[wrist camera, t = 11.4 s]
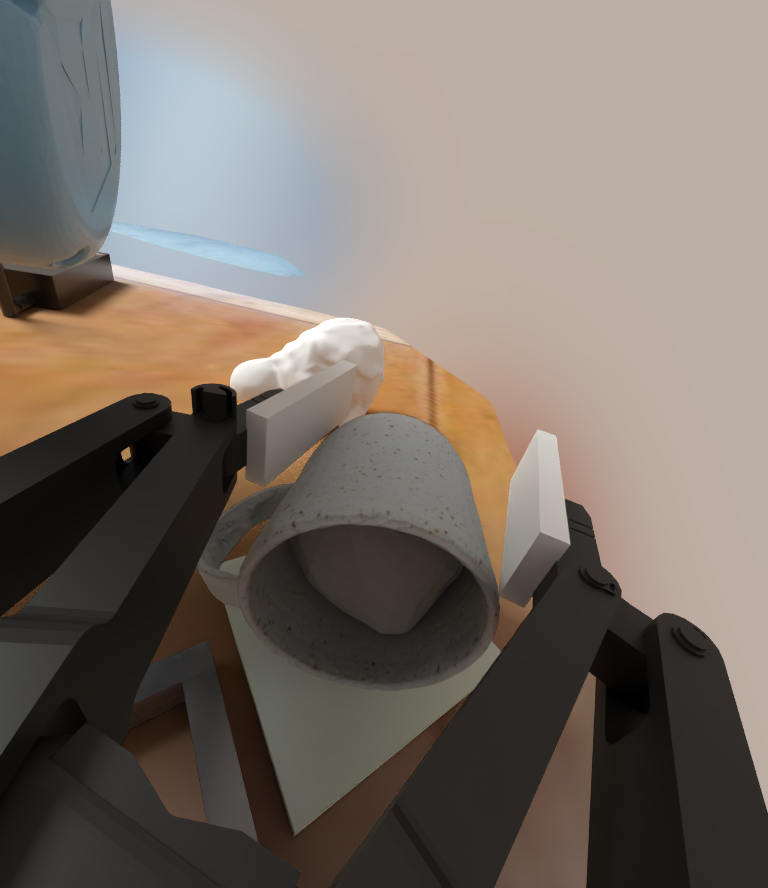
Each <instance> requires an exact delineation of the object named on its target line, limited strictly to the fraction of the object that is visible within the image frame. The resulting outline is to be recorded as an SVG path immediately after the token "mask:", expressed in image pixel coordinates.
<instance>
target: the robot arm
mask: <svg viewBox="0 0 768 888" xmlns="http://www.w3.org/2000/svg"><path fill="white" fill-rule="evenodd" d="M120 154H121V111H120V88H119V73H118V62H117V50H116V41H115V32H114V25H113V16H112V8H111V1H110V0H0V263H7V264H16V265H24V266H33V267H41V268H50V269H61V268H70V267H75V266H78V265H80V264H83V263H85V262H86V261H88V260H89V259H91V258H92V257H93V256H94V255H95V254H96V253H97V252H98V251H99V250H100V248H101V247H102V245H103V244H104V242H105V240H106V238H107V236H108V233H109V230H110V228H111V224H112V220H113V216H114V212H115V207H116V201H117V194H118V185H119V174H120V156H121V155H120ZM357 367H358V365H357V364H354V363H351V362H348V361H346V360H342V361H340V362H338V363H336V364H334V365H332V366H330V367H328V368H326V369H324V370H322V371H320V372H318V373H316V374H315V375H313V376H311V377H309V378H307V379H305V380H303V381H301V382H299V383H297V384H295V385H293V386H291V387H289V388H288V389H286V390H283V389H281V388H279V389H273V390H268V391H266V392H264V393H261V394H259V396H255V397H253V398H251V400H250V399H249V400H247V401H245V402H243V403H241V404H239V405H237V393H236V391H235V390H234V389H233V388H231V387H229V386H225V385H222V384H202V385H198V386H195V387H194V388H192V389H191V396H192V408H193V413H192V414H191V415H189V414H183V413H178V412H173V411H172V407H171V401H170V400H169V399H168V398H167V397H165V396H162V395H158V394H154V393H149V394H148V393H142V394H137V395H133V396H130V397H127V398H125V399H123V400H120V401H118V402H116V403H114V404H112V405H110V406H108V407H105V408H103V409H101V410H99V411H97V412H95V413H93V414H91V415H88V416H86V417H84V418H82V419H80V420H78V421H76V422H74V423H71V424H69V425H67V426H65V427H63V428H61V429H59V430H57V431H54V432H52V433H50V434H48V435H46V436H44V437H42V438H39V439H37V440H35V441H33V442H31V443H29V444H27V445H25V446H22V447H20V448H18V449H16V450H14V451H12V452H10V453H8V454H5V455H3V456H1V457H0V616H2V615H3V614H4V613H5V612H6V611H8V610H9V609H10V608H11V607H13V606H14V605H15V604H16V603H17V602H19V601H20V600H21V599H22V598H24V597H25V596H26V595H27V594H28V593H30V592H31V591H32V590H33V589H35V588H36V587H37V586H38V585H39V584H41V583H42V582H43V581H44V580H46V579H47V578H48V577H49V576H51V575H52V574H53V573H54V572H55V573H54V574H53V575H52V576H51V577H50V578H49V580H48V581H47V582H46V583H45V584H44V585H43V587H42V588H41V589H40V590H39V591H38V592H37V593H36V595H35V596H34V597H33V598H32V599H31V600H30V602H29V603H28V604H27V605H26V606H25V607H24V608H23V609H22V610H21V611H20V612H19V613H17V614H15V615H13V616H11V617H2V618H0V888H297V887H296V883H297V881H298V878H299V875H300V873H301V872H299V871H298V870H297V869H295V868H294V867H292V866H291V865H289V864H288V863H287V862H285V861H284V860H282V859H281V858H280V857H278V856H277V855H275V854H274V853H272V852H271V851H270V850H268V849H267V848H265V847H264V846H262V845H261V844H260V843H258V842H257V841H255V840H254V839H253V838H251V837H250V836H248V835H247V834H245V833H244V832H243V831H239V830H235V829H230V828H225V827H221V826H216V825H212V824H207V823H202V822H198V821H193V820H189V819H184V818H179V817H176V816H173V815H171V814H170V813H169V812H168V811H167V810H166V808H165V807H164V805H163V803H162V802H161V800H160V798H159V797H158V795H157V793H156V792H155V790H154V788H153V787H152V785H151V783H150V782H149V780H148V778H147V777H146V775H145V773H144V772H143V770H142V768H141V767H140V765H139V763H138V762H137V760H136V758H135V757H134V755H133V754H132V753H130V752H129V751H127V750H126V749H124V748H123V747H122V744H123V741H124V739H125V736H126V734H127V731H128V728H129V725H130V721H131V717H132V712H133V706H134V701H135V697H136V694H137V691H138V689H139V687H140V684H141V682H142V680H143V678H144V676H145V674H146V672H147V670H148V667H149V665H150V663H151V661H152V659H153V657H154V655H155V653H156V651H157V648H158V646H159V644H160V642H161V640H162V638H163V636H164V634H165V632H166V630H167V627H168V625H169V623H170V621H171V619H172V617H173V615H174V613H175V611H176V608H177V606H178V604H179V602H180V600H181V598H182V596H183V594H184V592H185V589H186V587H187V585H188V583H189V581H190V579H191V577H192V575H193V573H194V570H195V568H196V566H197V564H198V562H199V560H200V558H201V556H202V554H203V551H204V549H205V547H206V545H207V543H208V541H209V539H210V537H211V535H212V533H213V530H214V528H215V526H216V524H217V522H218V520H219V518H220V516H221V514H222V511H223V509H224V507H225V505H226V503H227V501H228V499H229V497H230V495H231V492H232V490H233V488H234V486H235V484H236V482H237V471H239V470H240V469H241V468H243V467H244V466H246V478H245V479H247V480H249V481H251V482H253V483H256V484H258V485H260V486H262V487H265V486H266V485H267V484H269V483H270V482H271V481H272V480H273V479H274V478H276V477H277V476H278V475H279V474H280V473H282V472H283V471H284V470H285V469H286V468H288V467H289V466H290V465H291V464H292V463H293V462H295V461H296V460H297V459H298V458H299V457H301V456H302V455H303V454H304V453H305V452H307V451H308V450H309V449H310V448H311V447H313V446H314V445H315V444H316V443H317V442H318V441H320V440H321V439H322V438H323V437H324V436H326V435H327V434H328V433H329V432H330V431H332V430H333V429H334V428H335V427H336V426H338V425H339V424H340V423H341V422H342V421H343V420H345V419H346V418H347V417H348V415H349V409H350V404H351V399H352V393H353V388H354V383H355V377H356V372H357ZM127 447H129V448H130V453H131V457H130V458H128V459H127V460H124V461H123V459H122V455H121V452H122V451H123V450H124V449H126V448H127ZM592 529H593V526H592V522H591V517H590V516H589V514H588V513H587V512H586V510H585V509H584V507H583V506H582V505H580V504H577V503H574V502H572V501H569V500H567V499H564V492H563V484H562V477H561V469H560V462H559V454H558V446H557V439H556V436H555V435H552V434H549V433H547V432H544V431H541V430H537V431H536V433H535V435H534V437H533V439H532V441H531V443H530V445H529V446H528V448H527V450H526V452H525V454H524V456H523V458H522V460H521V462H520V463H519V465H518V467H517V469H516V471H515V473H514V475H513V477H512V479H511V481H510V490H509V500H508V510H507V519H506V529H505V539H504V549H503V558H502V568H501V578H500V587H499V596H500V597H502V598H504V599H506V600H508V601H511V602H513V603H515V604H517V605H519V606H521V607H525V606H526V604H527V603H528V602H529V600H530V599H531V597H532V596H533V609H532V610H531V612H530V613H529V614H528V616H527V617H526V618H525V619H524V621H523V622H522V623H521V625H520V626H519V627H518V629H517V630H516V631H515V633H514V635H513V636H512V637H511V639H510V640H509V642H508V643H507V644H506V646H505V647H504V648H503V650H502V651H501V653H500V654H499V655H498V657H497V658H496V659H495V661H494V662H493V664H492V665H491V666H490V668H489V669H488V670H487V672H486V673H485V675H484V676H483V677H482V679H481V680H480V681H479V683H478V684H477V686H476V687H475V688H474V690H473V691H472V692H471V694H470V695H469V697H468V698H467V699H466V701H465V702H464V703H463V705H462V706H461V708H460V709H459V710H458V712H457V713H456V714H455V716H454V717H453V719H452V720H451V721H450V723H449V724H448V725H447V727H446V728H445V730H444V731H443V732H442V734H441V735H440V736H439V738H438V739H437V741H436V742H435V743H434V745H433V746H432V747H431V749H430V750H429V752H428V753H427V754H426V756H425V757H424V758H423V760H422V761H421V763H420V764H419V765H418V767H417V768H416V769H415V771H414V772H413V774H412V775H411V776H410V778H409V779H408V780H407V782H406V783H405V785H404V786H403V787H402V789H401V790H400V791H399V793H398V794H397V796H396V797H395V798H394V800H393V801H392V802H391V804H390V805H389V807H388V808H387V809H386V811H385V812H384V813H383V815H382V816H381V818H380V819H379V820H378V822H377V823H376V824H375V826H374V827H373V829H372V830H371V831H370V833H369V834H368V835H367V837H366V838H365V840H364V841H363V842H362V844H361V845H360V846H359V848H358V849H357V850H356V852H355V853H354V854H353V856H352V857H351V858H350V860H349V861H348V862H347V864H346V865H345V866H344V868H343V869H342V871H341V872H340V873H339V875H338V876H337V877H336V879H335V880H334V881H333V883H332V884H331V885H330V887H329V888H494V886H495V884H496V882H497V879H498V877H499V875H500V872H501V870H502V868H503V866H504V863H505V861H506V859H507V857H508V854H509V852H510V850H511V847H512V845H513V843H514V841H515V838H516V836H517V834H518V832H519V829H520V827H521V825H522V822H523V820H524V818H525V816H526V813H527V811H528V809H529V806H530V804H531V802H532V800H533V797H534V795H535V793H536V791H537V788H538V786H539V784H540V781H541V779H542V777H543V775H544V772H545V770H546V768H547V765H548V763H549V761H550V759H551V756H552V754H553V752H554V750H555V747H556V745H557V743H558V740H559V738H560V736H561V734H562V731H563V729H564V727H565V725H566V722H567V720H568V718H569V715H570V713H571V711H572V709H573V706H574V704H575V702H576V699H577V697H578V695H579V693H580V690H581V688H582V686H583V684H584V681H585V679H586V677H587V674H588V672H590V673H591V674H593V675H594V676H595V677H596V692H595V714H594V735H593V757H592V778H591V800H590V821H589V843H588V864H587V886H586V888H768V812H767V809H766V805H765V802H764V799H763V795H762V792H761V788H760V785H759V781H758V778H757V774H756V771H755V767H754V764H753V761H752V757H751V754H750V750H749V747H748V743H747V740H746V736H745V733H744V729H743V726H742V722H741V719H740V716H739V712H738V709H737V705H736V702H735V698H734V695H733V691H732V688H731V684H730V681H729V677H728V674H727V670H726V667H725V664H724V660H723V658H722V656H721V654H720V652H719V650H718V648H717V647H716V646H715V644H714V643H713V642H712V641H711V639H710V638H709V637H708V636H707V635H706V634H705V633H704V632H702V631H701V630H700V629H699V628H698V627H697V626H695V625H694V624H692V623H691V622H689V621H687V620H686V619H684V618H682V617H680V616H677V615H675V614H669V613H663V614H661V615H659V616H658V617H657V618H655V619H654V620H653V619H651V618H650V617H648V616H647V615H645V614H644V613H642V612H641V611H639V610H638V609H636V608H635V607H633V606H632V605H630V604H629V603H628V602H626V601H625V600H624V599H622V598H621V588H620V586H619V584H618V582H617V581H616V580H615V578H614V577H613V576H612V575H611V574H610V573H609V572H608V571H607V570H606V569H604V568H603V567H602V566H601V562H600V557H599V553H598V548H597V544H596V539H594V538H595V535H594V531H593V530H592Z"/></svg>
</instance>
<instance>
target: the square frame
mask: <svg viewBox="0 0 768 888" xmlns="http://www.w3.org/2000/svg"><path fill="white" fill-rule="evenodd" d="M185 701H186V707H187V712H188V718H189V724H190V729H191V735H192V741H193V746H194V752H195V757H196V763H197V769H198V774H199V780H200V786H201V791H202V797H203V802H204V808H205V814H206V819H207V824H212V825H216V826H221V827H225V828H230V829H235V830H239V831H243V832H244V833H245V834H247V835H248V836H250V837H251V838H253V839H254V840H255V841H257V842H258V839H257V835H256V831H255V827H254V823H253V819H252V815H251V810H250V806H249V802H248V798H247V794H246V790H245V786H244V782H243V778H242V774H241V770H240V766H239V762H238V758H237V754H236V750H235V745H234V741H233V737H232V733H231V729H230V725H229V721H228V717H227V713H226V709H225V705H224V701H223V697H222V693H221V689H220V685H219V680H218V676H217V672H216V668H215V664H214V660H213V656H212V652H211V648H210V644H209V640H207V641H205V642H202V643H200V644H198V645H195V646H193V647H190V648H188V649H186V650H183V651H181V652H179V653H176V654H174V655H171V656H169V657H167V658H164V659H162V660H160V661H157V662H155V663H153V664H150V665H149V667H148V670H147V672H146V674H145V676H144V678H143V680H142V682H141V684H140V687H139V689H138V691H137V694H136V697H135V701H134V706H133V712H132V717H131V721H130V725H129V728H128V730H129V729H131V728H133V727H135V726H137V725H139V724H141V723H143V722H145V721H147V720H149V719H151V718H153V717H155V716H157V715H159V714H161V713H163V712H165V711H167V710H169V709H171V708H173V707H175V706H177V705H179V704H181V703H183V702H185Z"/></svg>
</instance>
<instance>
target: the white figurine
mask: <svg viewBox="0 0 768 888" xmlns="http://www.w3.org/2000/svg"><path fill="white" fill-rule="evenodd" d="M384 353H385V350H384V346H383V343H382V340H381V338H380V337H379V335H378V334H377V332H376V330H375V328H374V327H373V326H372V325H371V324H370V323H368V322H365V321H360V320H357V319H354V318H337V319H331V320H327V321H324V322H322V323H321V324H320V325H318V326H317V327H315V328H312V329H310V330H307V331H305V332H303V333H302V334H301V335H300V336H299V337H298V339H296V340H295V341H293V342H290V343H288V344H286V345H285V347H284V348H283V349H282V350H281V351H280V352H277V353H274V354H273V355H272V356H271V357H269V358H264V359H254V360H250V361H246V362H244V363H242V364H240V365H238V366H237V367H236V368H235V369H234V371H233V373H232V375H231V380H230V387H231V388H233V389H234V390H235V391H236V393H237V401H238V402H239V403H243V402H245V401H247V400H249V399H250V400H251V398H253V397H255V396H259V394H261V393H264V392H266V391H268V390H273V389H279V388H281V389H283V390H286V389H288V388H289V387H291V386H293V385H295V384H297V383H299V382H301V381H303V380H305V379H307V378H309V377H311V376H313V375H315V374H316V373H318V372H320V371H322V370H324V369H326V368H328V367H330V366H332V365H334V364H336V363H338V362H340V361H342V360H346V361H348V362H351V363H354V364H357V365H358V367H357V372H356V377H355V383H354V388H353V393H352V399H351V404H350V409H349V415H348V417H347V418H346V419H345V420H343V421H342V422H341V423H340V424H339V425H338V426H339V427H340V426H341V425H343V424H344V423H346V422H348V421H350V420H353V419H355V418H357V417H360V416H363V415H365V414H366V412H367V410H368V409H369V408H370V406H371V404H372V402H373V400H374V399H375V397H376V394H377V391H378V389H379V387H380V385H381V383H382V382H383V381H384V378H385V377H384V374H383V369H384V364H385V363H384Z"/></svg>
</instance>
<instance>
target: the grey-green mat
mask: <svg viewBox="0 0 768 888" xmlns="http://www.w3.org/2000/svg"><path fill="white" fill-rule="evenodd" d="M245 557H246V555H244V556H241V557H238V558H235V559H232V560H229V561H225V562H223V564H222V565H221V566H220V570H221V571H224V572H229V573H232V574H234V575H238V576H239V570H240V567H241V565H242V563H243V561H244V559H245ZM224 605H225V608H226V611H227V615H228V618H229V621H230V625H231V628H232V631H233V635H234V638H235V642H236V645H237V648H238V652H239V655H240V658H241V662H242V665H243V668H244V672H245V675H246V678H247V682H248V685H249V688H250V692H251V695H252V698H253V702H254V705H255V708H256V712H257V715H258V718H259V722H260V725H261V728H262V732H263V735H264V738H265V742H266V745H267V748H268V752H269V755H270V758H271V762H272V765H273V768H274V772H275V775H276V778H277V782H278V785H279V788H280V792H281V795H282V799H283V802H284V805H285V809H286V812H287V815H288V819H289V822H290V825H291V829H292V832H293V835H294V836H295V835H297V834H298V833H299V832H300V831H301V830H303V829H304V828H305V827H306V826H308V825H309V824H310V823H311V822H312V821H314V820H315V819H316V818H317V817H319V816H320V815H321V814H322V813H323V812H325V811H326V810H327V809H328V808H330V807H331V806H332V805H333V804H335V803H336V802H337V801H338V800H339V799H341V798H342V797H343V796H344V795H346V794H347V793H348V792H349V791H350V790H352V789H353V788H354V787H355V786H357V785H358V784H359V783H360V782H361V781H363V780H364V779H365V778H366V777H368V776H369V775H370V774H371V773H372V772H374V771H375V770H376V769H377V768H379V767H380V766H381V765H382V764H383V763H385V762H386V761H387V760H388V759H390V758H391V757H392V756H393V755H395V754H396V753H397V752H398V751H399V750H401V749H402V748H403V747H404V746H406V745H407V744H408V743H409V742H410V741H412V740H413V739H414V738H415V737H417V736H418V735H419V734H420V733H421V732H423V731H424V730H425V729H426V728H428V727H429V726H430V725H431V724H432V723H434V722H435V721H436V720H437V719H439V718H440V717H441V716H442V715H444V714H445V713H446V712H447V711H448V710H450V709H451V708H452V707H453V706H455V705H456V704H457V703H458V702H459V701H461V700H462V699H463V698H464V697H466V696H467V695H468V694H469V693H470V692H472V691H473V690H474V688H475V687H476V686H477V684H478V683H479V681H480V680H481V679H482V677H483V676H484V675H485V673H486V672H487V670H488V669H489V668H490V666H491V665H492V664H493V662H494V661H495V659H496V658H497V657H498V655H499V654H500V653H501V651H500V650H499V649H498V647H497V646H496V645H495V644H494V643H493V641H491V642H490V644H489V646H488V649H487V650H486V651H485V652H484V653H483V654H482V656H481V657H479V658H478V659H477V660H476V661H475V662H474V663H473V664H472V665H470V666H469V667H468V668H467V669H465V670H464V671H463V672H461V673H459V674H457V675H455V676H453V677H451V678H449V679H447V680H445V681H443V682H440V683H437V684H434V685H430V686H425V687H421V688H412V689H403V690H398V691H383V690H368V689H364V688H355V687H351V686H346V685H341V684H337V683H334V682H331V681H328V680H326V679H323V678H320V677H316V676H314V675H312V674H309V673H307V672H304V671H302V670H300V669H298V668H296V667H294V666H292V665H291V664H289V663H287V662H286V661H285V660H284V659H282V658H281V657H280V656H278V655H277V654H275V653H274V652H272V651H271V650H270V649H269V648H268V647H267V646H266V645H265V644H264V643H263V642H262V641H261V640H259V639H258V638H257V636H256V635H255V633H254V631H253V630H252V629H251V628H250V627H249V626H248V624H247V622H246V620H245V618H244V616H243V613H242V611H241V609H240V608H236V607H233V606H230V605H227V604H224Z"/></svg>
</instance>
